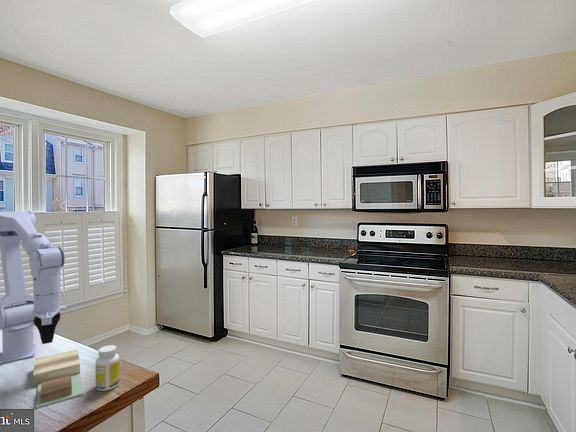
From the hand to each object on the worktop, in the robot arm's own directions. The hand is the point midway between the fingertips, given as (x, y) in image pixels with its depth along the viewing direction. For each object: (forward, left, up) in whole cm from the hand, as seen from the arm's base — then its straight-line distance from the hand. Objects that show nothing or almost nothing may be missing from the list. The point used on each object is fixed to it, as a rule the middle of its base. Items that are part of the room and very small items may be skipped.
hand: (47, 342), depth 85 cm
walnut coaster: (+11, +2, -7) cm, 13 cm away
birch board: (-1, +2, -9) cm, 9 cm away
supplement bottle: (+14, +13, -9) cm, 21 cm away
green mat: (+10, +3, -9) cm, 14 cm away
